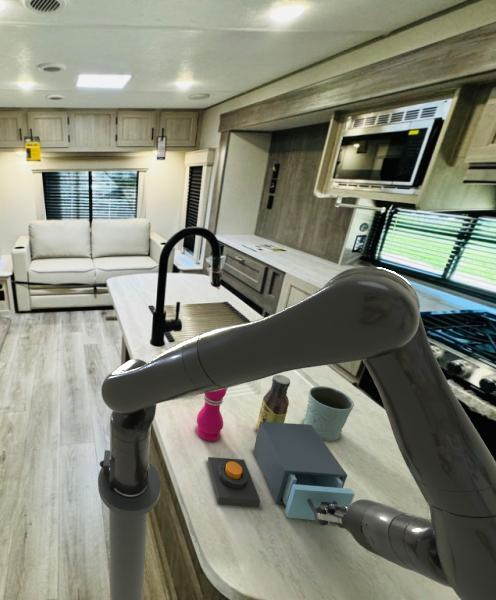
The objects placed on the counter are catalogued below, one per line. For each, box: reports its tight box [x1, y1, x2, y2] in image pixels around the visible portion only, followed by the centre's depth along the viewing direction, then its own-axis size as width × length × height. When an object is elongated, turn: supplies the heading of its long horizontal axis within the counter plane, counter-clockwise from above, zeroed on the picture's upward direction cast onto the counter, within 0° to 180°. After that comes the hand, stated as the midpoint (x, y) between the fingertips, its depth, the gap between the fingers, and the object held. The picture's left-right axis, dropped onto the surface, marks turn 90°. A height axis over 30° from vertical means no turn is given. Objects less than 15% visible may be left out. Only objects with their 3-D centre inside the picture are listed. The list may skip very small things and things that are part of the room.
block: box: [206, 456, 261, 508], centre depth 76 cm, size 9×11×4 cm
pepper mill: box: [196, 388, 227, 442], centre depth 88 cm, size 7×7×20 cm
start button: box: [225, 461, 242, 480], centre depth 75 cm, size 4×4×2 cm
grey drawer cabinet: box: [252, 422, 348, 505], centre depth 75 cm, size 15×13×11 cm
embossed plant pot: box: [303, 385, 355, 442], centre depth 89 cm, size 10×10×12 cm
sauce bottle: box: [256, 374, 291, 433], centre depth 87 cm, size 6×6×20 cm
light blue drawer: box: [282, 473, 355, 526], centre depth 69 cm, size 18×11×9 cm, turn 174°
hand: (325, 507), depth 64 cm, fingers closed
